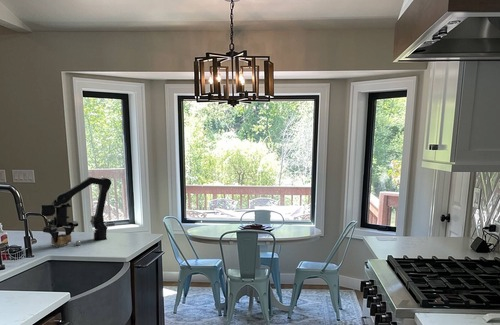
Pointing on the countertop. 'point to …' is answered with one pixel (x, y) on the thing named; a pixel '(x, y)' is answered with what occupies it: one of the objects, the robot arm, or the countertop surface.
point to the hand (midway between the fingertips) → (61, 241)
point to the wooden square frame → (62, 239)
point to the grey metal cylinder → (77, 243)
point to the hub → (61, 245)
